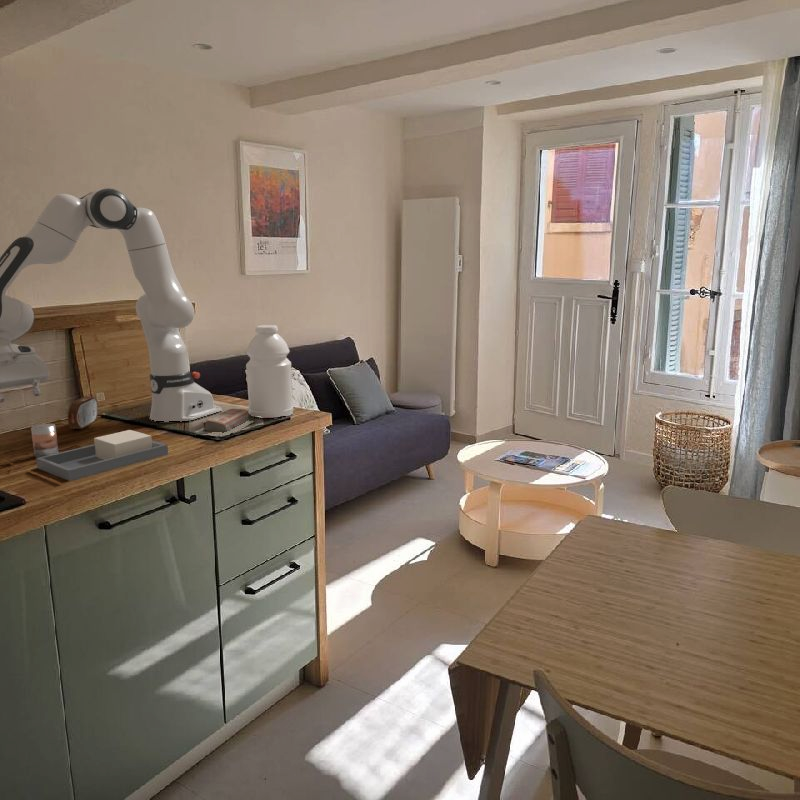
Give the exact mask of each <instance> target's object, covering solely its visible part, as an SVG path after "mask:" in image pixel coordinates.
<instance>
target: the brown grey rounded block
mask: <svg viewBox="0 0 800 800" xmlns="http://www.w3.org/2000/svg"><path fill="white" fill-rule="evenodd" d="M98 406H99V403H98V400H97V398H96V397H93V396H86V395H85V396H83V397H81V398H78V399H76V400H74V401H73V402H71V404H70V406H69V408H68V410H67V411H68V412H67V421H68V425H69V427H70V428H71V429H72V430H83V429H85V428H86V427H88V426H91V425H92V424H94V423H95V422H96V420H97V419H98V415H99V409H98Z"/></svg>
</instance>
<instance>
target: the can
mask: <svg viewBox="0 0 800 800" xmlns="http://www.w3.org/2000/svg"><path fill="white" fill-rule="evenodd" d="M30 431H31V440H32V449H33V453H34V457H35V458H39V457H43V456H48V455H52V454H56V453H60V452H59V447H58V446H59V444H58V435H57V429H56V424H54V423H41V424H36V425H33V426H31V427H30Z"/></svg>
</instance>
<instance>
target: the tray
mask: <svg viewBox="0 0 800 800" xmlns="http://www.w3.org/2000/svg"><path fill="white" fill-rule="evenodd" d="M167 455H169V448H168V444H165V443H163V442H160V441H159V442H158V441H155V440H152V448H149V449H145V450H141V451H137V452H133V453H129V454H125V455H122V456H118V457H114V458H110V459H106V460H104V459H101V458H98V457H96V451H95V443H94V444H90V445H85V446H82V447H77V448H73V449H70V450H65V451H60V452H59V453H56V454H52V455H48V456H43V457H35V460H36V468H37V469H38V470H41V471H43V472H46V473H48V474H51V475H53V476H56V477H59V478H61V479H64V480H65V481H68V482H72V481H76V480H79V479H82V478H87V477H90V476H95V475H97V474H100V473H101V474H102V473H105V472H109V471H112V470H116V469H120V468H122V467H123V468H124V467H127V466H131V465H135V464H139V463H141V462H145V461H149V460H153V459H156V458H159V457H164V456H167Z"/></svg>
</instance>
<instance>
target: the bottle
mask: <svg viewBox="0 0 800 800" xmlns="http://www.w3.org/2000/svg"><path fill="white" fill-rule="evenodd" d="M277 332H279V328H278V325H276V324H262V325H260V324H259V325H257V326H256V327H255V333H257V334H255V336H254V337H253V338H252V339H251V340H250V342H249V344H248V346H247V350H246V352H245V353H246V355H247V356H248V358H249V360H248V361H247V363H246V365H245V369H246V381H247V382H246V383H247V395H248V415H250V414H251V415H254V416H261V417H280V416H286V417H289V416H291V415H292V414H294V401H293V380H292V379H293V378H292V360H291V361H290V360H289V358H287V356H288V355H289V354H290V351H291V350H290V349H289V346H288V344H287V342H286V340H285V339H284V338H283V337H282V335H280V334H278V333H277Z"/></svg>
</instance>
